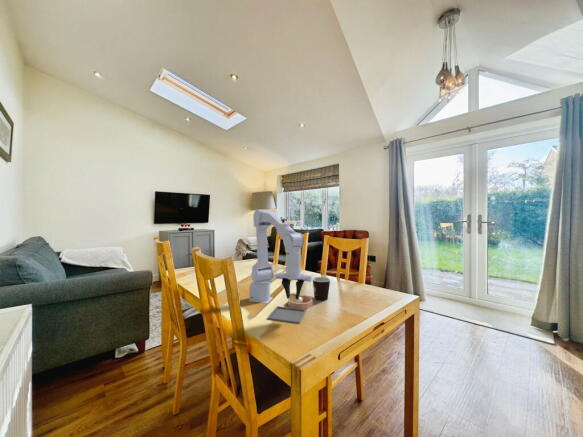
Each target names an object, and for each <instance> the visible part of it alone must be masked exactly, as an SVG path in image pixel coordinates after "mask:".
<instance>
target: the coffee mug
mask: <svg viewBox="0 0 583 437" xmlns="http://www.w3.org/2000/svg"><path fill="white" fill-rule="evenodd" d="M330 285H331V279H330V278H328V277H323V276H315V277H312V288H313V297H314V300H315V301H318V302H320V301H321V302H324V301H325V302H326V301H327V300H328V298H329V291H330Z"/></svg>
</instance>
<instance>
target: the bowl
mask: <svg viewBox="0 0 583 437" xmlns="http://www.w3.org/2000/svg"><path fill="white" fill-rule="evenodd" d="M299 297H301V298H302V299H303V302H302V303H296V301H294V302H292V301H290V300H289V299H287V305H288V307H289V308H297V309H305V310H307V309H310V308H312V307H313V304H314V300H313V298H312V296H308V295H305V294H300V295H299Z"/></svg>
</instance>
